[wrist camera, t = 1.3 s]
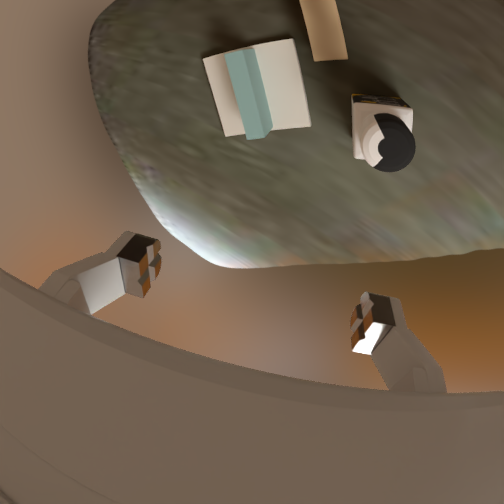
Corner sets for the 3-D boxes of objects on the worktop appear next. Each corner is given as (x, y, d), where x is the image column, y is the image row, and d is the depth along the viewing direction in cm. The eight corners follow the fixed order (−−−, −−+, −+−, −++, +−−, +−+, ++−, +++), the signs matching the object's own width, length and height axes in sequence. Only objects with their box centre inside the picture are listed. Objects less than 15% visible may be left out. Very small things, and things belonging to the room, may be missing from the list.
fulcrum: (293, 38, 28) (285, 37, 24) (311, 124, 36) (306, 137, 32) (205, 58, 33) (185, 62, 29) (227, 134, 41) (212, 148, 37)
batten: (320, -43, 18) (317, -54, 15) (347, 57, 28) (348, 59, 25) (290, -39, 20) (283, -50, 16) (317, 59, 30) (314, 61, 26)
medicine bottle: (401, 97, 29) (424, 119, 21) (399, 144, 34) (417, 183, 25) (351, 93, 31) (355, 112, 23) (352, 140, 36) (354, 176, 28)
